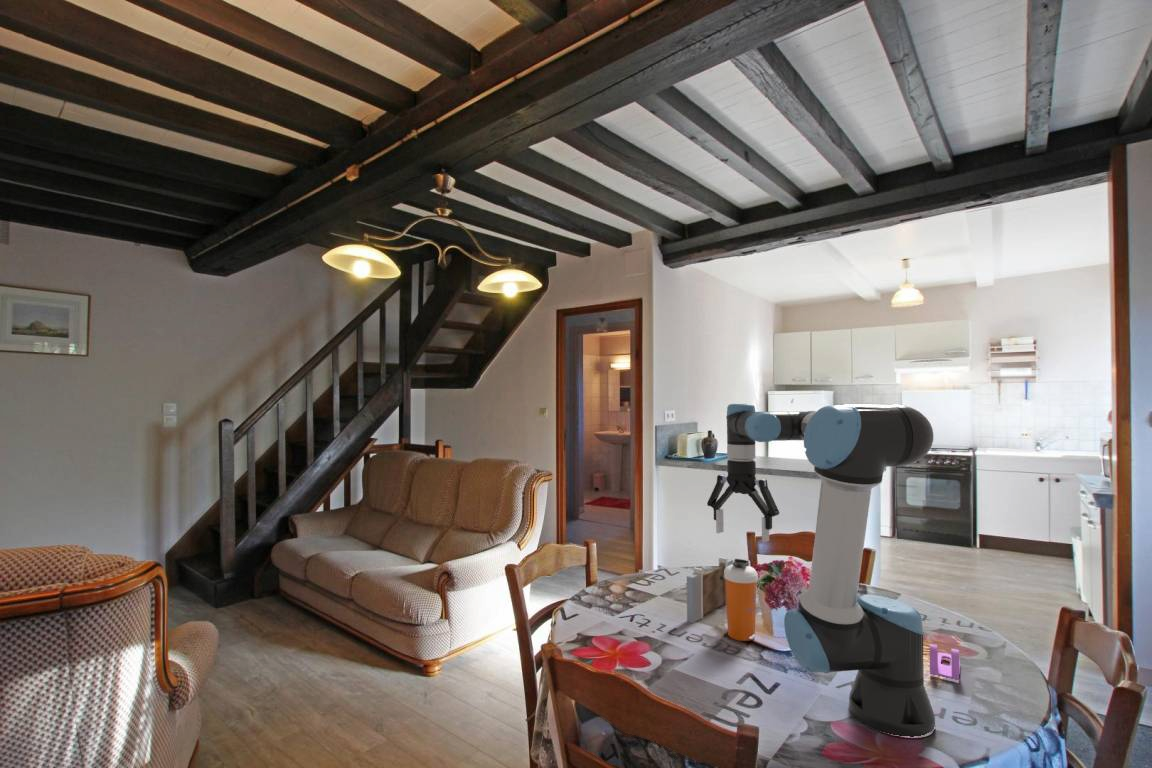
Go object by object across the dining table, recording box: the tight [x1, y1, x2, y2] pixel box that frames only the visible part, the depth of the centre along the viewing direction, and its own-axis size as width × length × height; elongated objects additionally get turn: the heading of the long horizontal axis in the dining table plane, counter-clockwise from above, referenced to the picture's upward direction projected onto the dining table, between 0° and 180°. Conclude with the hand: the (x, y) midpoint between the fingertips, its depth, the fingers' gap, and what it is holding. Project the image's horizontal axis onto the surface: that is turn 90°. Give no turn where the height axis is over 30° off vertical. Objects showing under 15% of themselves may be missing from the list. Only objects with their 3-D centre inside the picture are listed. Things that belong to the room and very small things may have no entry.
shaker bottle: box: [724, 558, 759, 642], centre depth 149 cm, size 9×9×20 cm
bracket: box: [929, 643, 961, 681], centre depth 130 cm, size 13×6×7 cm, turn 144°
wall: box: [686, 556, 734, 624], centre depth 166 cm, size 24×3×14 cm, turn 136°
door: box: [703, 565, 725, 616], centre depth 166 cm, size 13×2×12 cm, turn 136°
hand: (742, 536), depth 149 cm, fingers open, 13 cm apart
